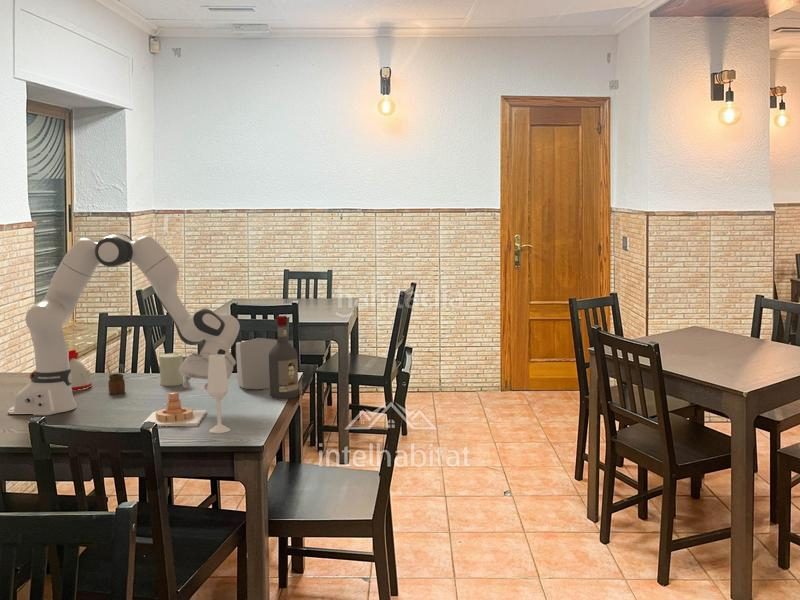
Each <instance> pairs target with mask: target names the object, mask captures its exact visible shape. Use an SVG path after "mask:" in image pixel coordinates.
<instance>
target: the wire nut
mask: <svg viewBox="0 0 800 600" xmlns="http://www.w3.org/2000/svg"><path fill="white" fill-rule="evenodd" d="M167 395H168V397H167V398H168V400H167V401H166V405H167V406H166V414H179V413H182V404H181V403H182V402H181V399H180V393H179V392H174V391H173V392H169V393H168V394H167Z"/></svg>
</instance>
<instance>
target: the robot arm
mask: <svg viewBox="0 0 800 600" xmlns="http://www.w3.org/2000/svg"><path fill="white" fill-rule="evenodd" d="M126 263H133V264H134V265H135V266H136V267H138V269H139V270H140V271H141V273H142V274H143V275H144V276H145V278H146V280H148V282H149V283H150V285H151V286H152V288H153V290H154V292H155V295H156V296H157V299H158V300H159V302H160V304H161V305H162V307H163V308H164V310H165V312H167V314H168V316H169V317H170V319H171V320H172V322H173V324H174V326H175V328H176V330H177V331H176V332H177V334H178V337H179V338H180V341H182V342H183V343H185V344H186V345H189V346H198V345H199V344H201V343H202V342H203V341H204V340H205V343H204V344H203V347H202V348H201V350H200V352H199V353H192V354H189V355H188V356H186V358H185V359H184V360H182V361H183V363H182V364H181V366H180V367H179V373H180V374H181V375H182V376H183V380H184V382H183V384H182V387H183V388H187V389H188V388H189V387H190V384H191V383H190V382H189V381H190V380H191V379H200V380H207V381H208V367H209V356H210V355H216V354H221V355H224V357H225V364H226V371H227V379H228V380H229V379H230V377H231V376H232V373H233V371H234V367H235V365H237V360H236V359H235V357H234V356H233V355H232V354H231V353H230V349H231V348H232V347H233V345H234V344H235V342H236V340H237V337H238V335H239V332H240V328H241V327H240V326H241V325H240V322H239V321H238V319H237V318H236V317H235V316H234V315H232V314H229V313H218V312H215V311H213V310H211V309H208V308H200V309H198V310H196V311H195V312H194V313H192V314H190V312H189V311H188V310H187V308H186V307H185V305H184V303H183V302H182V301H181V299H180V297H179V296H178V292H177V286H178V281H179V278H180V270H179V268H178V266H177V263H176V262H175V261H174V259H173V258H172V257H171V255H170V254H169V253H168V252H167V250H166V249H165V248H164V247H163V246H162V245H161V244H160V243H159V242H158V241H157V240H156V239H155V238H153V236H150V235H144V236H140V237H137V238H136V239H135V240H133V239H132V238H131V237H130V236H128V235H126V234H122V233H113V234H109V235H107V236H104V237H102V238H100V239H99V240H98V242H97V241H94V240H92V239H91V238H85V237H82V238H79V239H78V240H76V241H75V242H74V243H73V245H72V246H71V247H70V248H69V250H68V251H67V252H66V253H65V255H64V256H63V258H62V260H61V262H60V263H59V265H58V266H57V268H56V270H55V272H54V274H53V275H52V277H51V279H50V283H49V287H48V289H47V291H46V294H45V296H44V298H42V300H41V301H39V302H37V303H34V304H33V305H31V307H30V308H29V309H28V311H27V312H26V315H25V319H24V320H25V324H26V326H27V328H28V330H29V333H30V337H31V341H32V344H33V345H32V346H33V350H34V359H35V370H33V371H32V372H31V373H30V374H29V379H30V382H29V383H28V384H27V385H25V386H24V387H23V388H22V389H21V390H20V391H18V392H17V393H16V395H15V397H14V405H13V406H11V407H10V408H9V409H8V410H7V413H8V412H9V413H26V414H33V415H32V416H51V415H54V414H60V413H64V412H69V411H72V410H75V409H77V407H78V406H77V403H76V401H75V398H74V395H73V391H72V388H71V383H72V375H71V369H70V368H69V346H68V344H67V342H66V338H65V335H64V331H63V327H65V326H66V325H67V324H68V323H69V322H70V320H71V318H72V315H73V313H74V311H75V309H76V307H77V304H78V303H79V299H80V298H81V295H82V293H83V291H84V290H85V287H86V286H87V284H88V283H89V281H90V280H91V279H92V276H93V274H94V272H95V271H96V269H97V268H98V267H99V265H100V264H101V265H103V266H104V267H108V268H113V267H115V268H116V267H120V266H122V265H125V264H126ZM207 386H208V382H207V383H205V384H204V386H203V388H204V389H205V390H206V391H207ZM10 410H12V411H10Z"/></svg>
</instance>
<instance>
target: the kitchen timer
mask: <svg viewBox="0 0 800 600" xmlns="http://www.w3.org/2000/svg"><path fill="white" fill-rule="evenodd" d="M68 354H69V368H70V369H71V375H72V383H71V388H72V390H78V389H83V388H87V387H89V386H91V385H92V384H93V383H92V378H91V370H89V369H87V367H86V366H85V364H83V362H82V361H80V360H78V356H79V352H78V351H77V350H76V349H71V350H68ZM92 386H93V385H92Z"/></svg>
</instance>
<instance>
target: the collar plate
mask: <svg viewBox="0 0 800 600" xmlns="http://www.w3.org/2000/svg"><path fill="white" fill-rule="evenodd" d="M181 407H182V406H181ZM166 408H167V407H166ZM166 408H162V409H159V410H156V411H153V412H151V414H150V415H149V416H148V417H147V418H146V419H145V420H144V421H143V422H142V423H141V425H142V424H143V423H144V422H147V421H151V422H156V423H157V424H158V426H160V427H159V428H162V427H161V426H166V427H165V428H168V427H167V426H186V427H198V426H199V425H200V423H201V422H202V420H203V419H204V417H205V416H204V415H207V413H206V412H207V410H206V409H198V410H197V409H196V410H194V409H193V408H192V407H185V406H183V407H182V413H179V414H166ZM202 418H203V419H202ZM200 421H201V422H200ZM198 424H199V425H198ZM141 425H140V426H141Z"/></svg>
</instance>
